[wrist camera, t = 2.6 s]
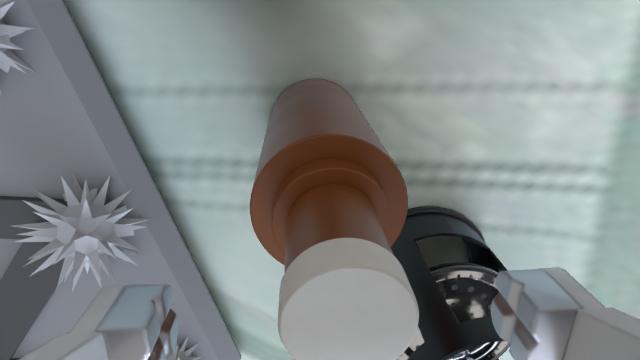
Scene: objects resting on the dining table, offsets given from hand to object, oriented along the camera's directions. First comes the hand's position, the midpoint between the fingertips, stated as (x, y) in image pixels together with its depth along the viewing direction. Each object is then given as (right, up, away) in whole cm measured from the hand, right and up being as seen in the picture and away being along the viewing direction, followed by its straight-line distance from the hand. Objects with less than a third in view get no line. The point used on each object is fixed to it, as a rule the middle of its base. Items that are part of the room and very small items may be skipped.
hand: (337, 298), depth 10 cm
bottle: (-1, +6, +15) cm, 17 cm away
